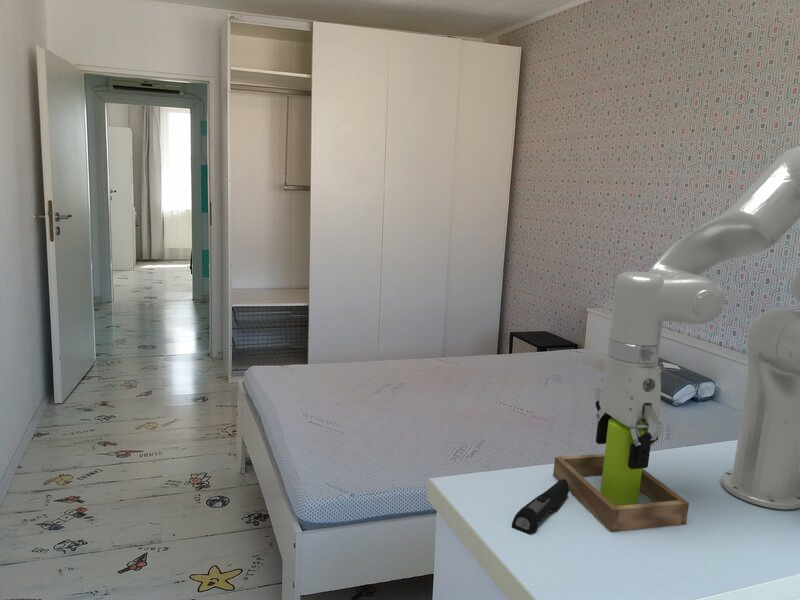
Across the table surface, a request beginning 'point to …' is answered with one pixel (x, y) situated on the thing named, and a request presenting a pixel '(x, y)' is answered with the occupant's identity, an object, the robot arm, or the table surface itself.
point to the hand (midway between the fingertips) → (620, 454)
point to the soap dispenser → (620, 466)
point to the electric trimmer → (540, 507)
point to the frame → (626, 517)
